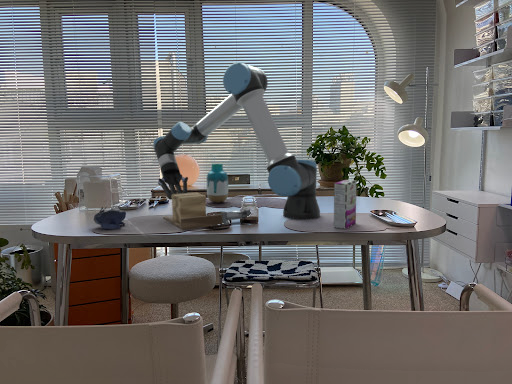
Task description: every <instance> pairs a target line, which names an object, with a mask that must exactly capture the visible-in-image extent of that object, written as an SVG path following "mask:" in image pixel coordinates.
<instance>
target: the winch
mask: <svg viewBox="0 0 512 384" xmlns="http://www.w3.org/2000/svg"><path fill="white" fill-rule="evenodd" d="M250 210H251V209H250V208H244V209H241V210H240V209H239V210H233V211H224V210H223V211H219V214H221V219H222V223H227V221H233V220H234V221H235V220H244V218H246V217H247V216H249V215H250V214H251V215H252V213H251V212H250ZM251 215H250V216H251ZM227 224H228V223H227Z"/></svg>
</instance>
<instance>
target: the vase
mask: <svg viewBox="0 0 512 384" xmlns="http://www.w3.org/2000/svg"><path fill="white" fill-rule="evenodd" d="M223 165H224V164H223V163H212V164H211V170H210V171H209V172H208V173H207V175H206V194H207V195H206V196H207V199H208V200H209V201H210V202H212V203H216V204H217V203H218V204H219V203H222V202H225V201H227V199H228V196H229V178H228V177H229V176H228V173H227V172H226V171H225V170H224V166H223Z"/></svg>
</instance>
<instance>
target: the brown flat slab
mask: <svg viewBox="0 0 512 384" xmlns="http://www.w3.org/2000/svg"><path fill="white" fill-rule="evenodd" d="M163 219H164V220H166V221H168V222H169V223H170V224H172V225H173V226H175V227H177V228H178V229H180V230H182V231H184V230H186V231H187V230H188V231H191V230H195V229H196V230H199V229H203V228H204V229H207V228H208V227H209V226H210V225H217V224H222V219H221V214H220V213H217V214H211V215H206V216H199V217H190V218H181V224H179V223H178V222H176V221H175V220H173V216H167V215H165V216H163ZM222 225H223V224H222ZM210 227H211V226H210ZM210 227H209V228H210Z"/></svg>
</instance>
